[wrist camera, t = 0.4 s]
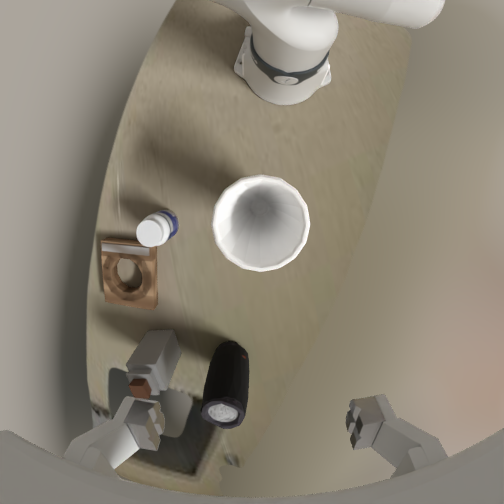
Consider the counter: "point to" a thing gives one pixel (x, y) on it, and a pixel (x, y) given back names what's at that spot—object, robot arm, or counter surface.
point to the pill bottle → (157, 228)
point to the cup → (260, 222)
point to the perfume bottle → (153, 363)
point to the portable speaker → (226, 386)
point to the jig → (147, 264)
